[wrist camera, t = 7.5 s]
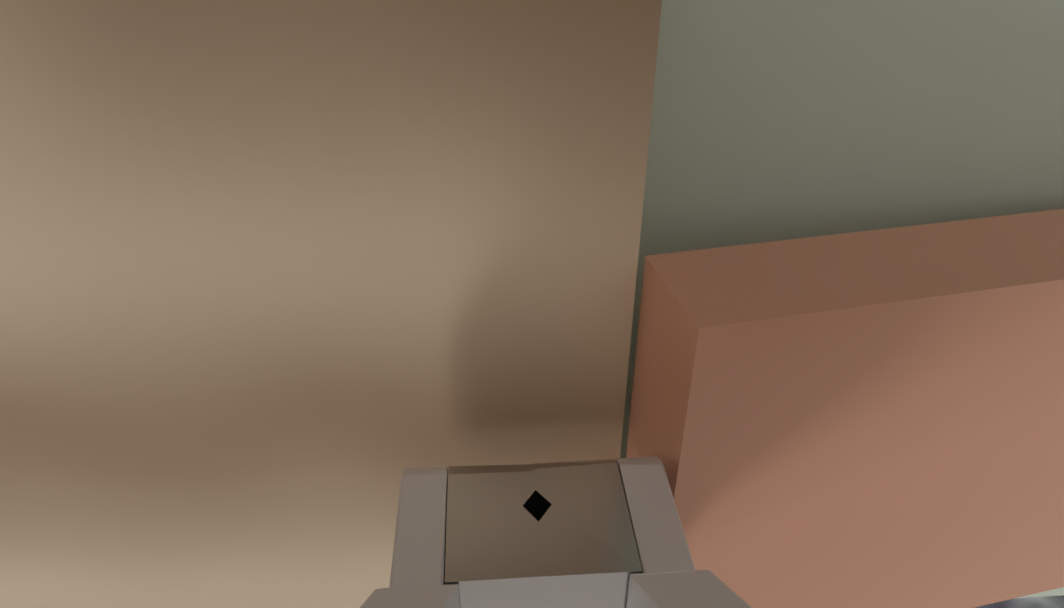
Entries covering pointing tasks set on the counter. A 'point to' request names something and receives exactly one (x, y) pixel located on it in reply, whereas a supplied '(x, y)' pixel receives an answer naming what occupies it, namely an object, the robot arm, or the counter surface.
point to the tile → (863, 412)
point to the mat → (847, 121)
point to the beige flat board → (300, 278)
